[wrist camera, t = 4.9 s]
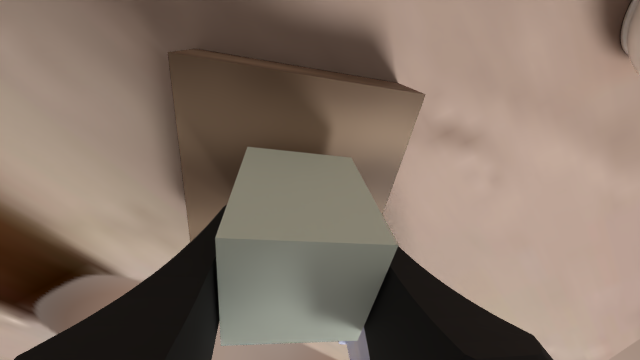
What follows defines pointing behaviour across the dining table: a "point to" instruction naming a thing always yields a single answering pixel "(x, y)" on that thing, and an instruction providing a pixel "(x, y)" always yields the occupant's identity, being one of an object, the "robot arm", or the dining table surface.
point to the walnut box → (281, 122)
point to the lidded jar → (632, 34)
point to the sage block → (299, 250)
